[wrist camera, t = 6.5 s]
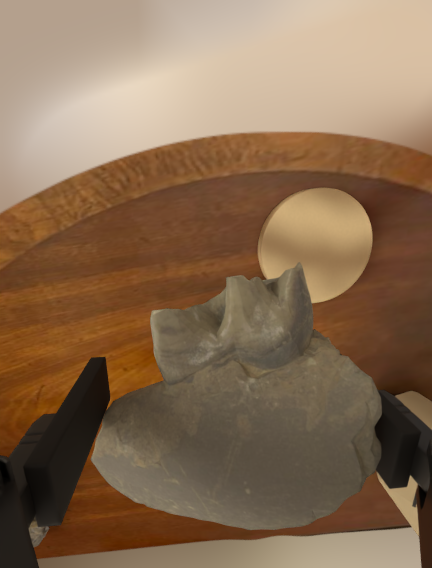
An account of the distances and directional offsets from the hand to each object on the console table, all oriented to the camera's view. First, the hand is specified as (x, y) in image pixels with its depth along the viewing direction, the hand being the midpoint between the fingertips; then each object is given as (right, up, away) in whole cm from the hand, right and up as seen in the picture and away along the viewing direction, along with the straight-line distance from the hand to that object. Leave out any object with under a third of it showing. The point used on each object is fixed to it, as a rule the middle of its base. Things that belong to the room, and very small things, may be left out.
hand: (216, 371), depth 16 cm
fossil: (-1, +1, +1) cm, 2 cm away
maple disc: (+11, +9, +16) cm, 22 cm away
